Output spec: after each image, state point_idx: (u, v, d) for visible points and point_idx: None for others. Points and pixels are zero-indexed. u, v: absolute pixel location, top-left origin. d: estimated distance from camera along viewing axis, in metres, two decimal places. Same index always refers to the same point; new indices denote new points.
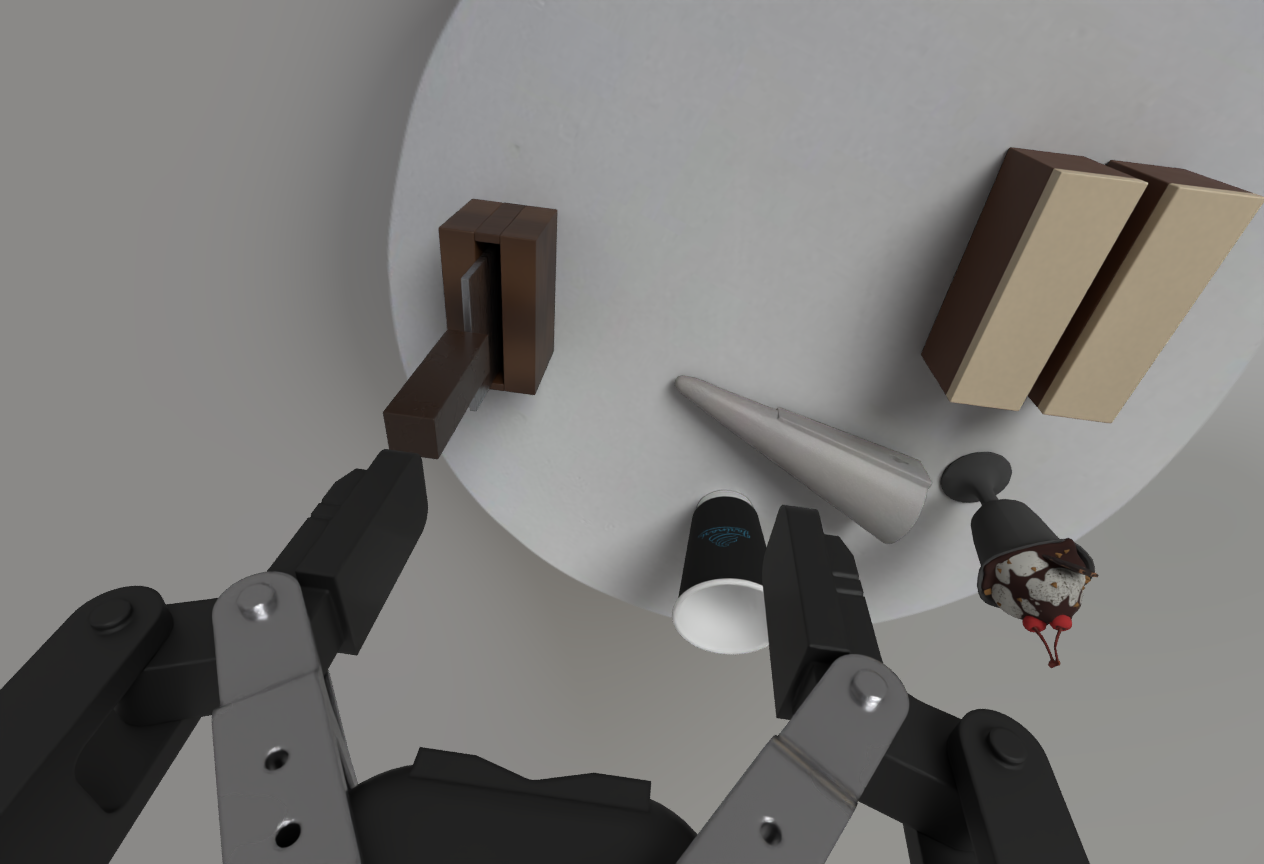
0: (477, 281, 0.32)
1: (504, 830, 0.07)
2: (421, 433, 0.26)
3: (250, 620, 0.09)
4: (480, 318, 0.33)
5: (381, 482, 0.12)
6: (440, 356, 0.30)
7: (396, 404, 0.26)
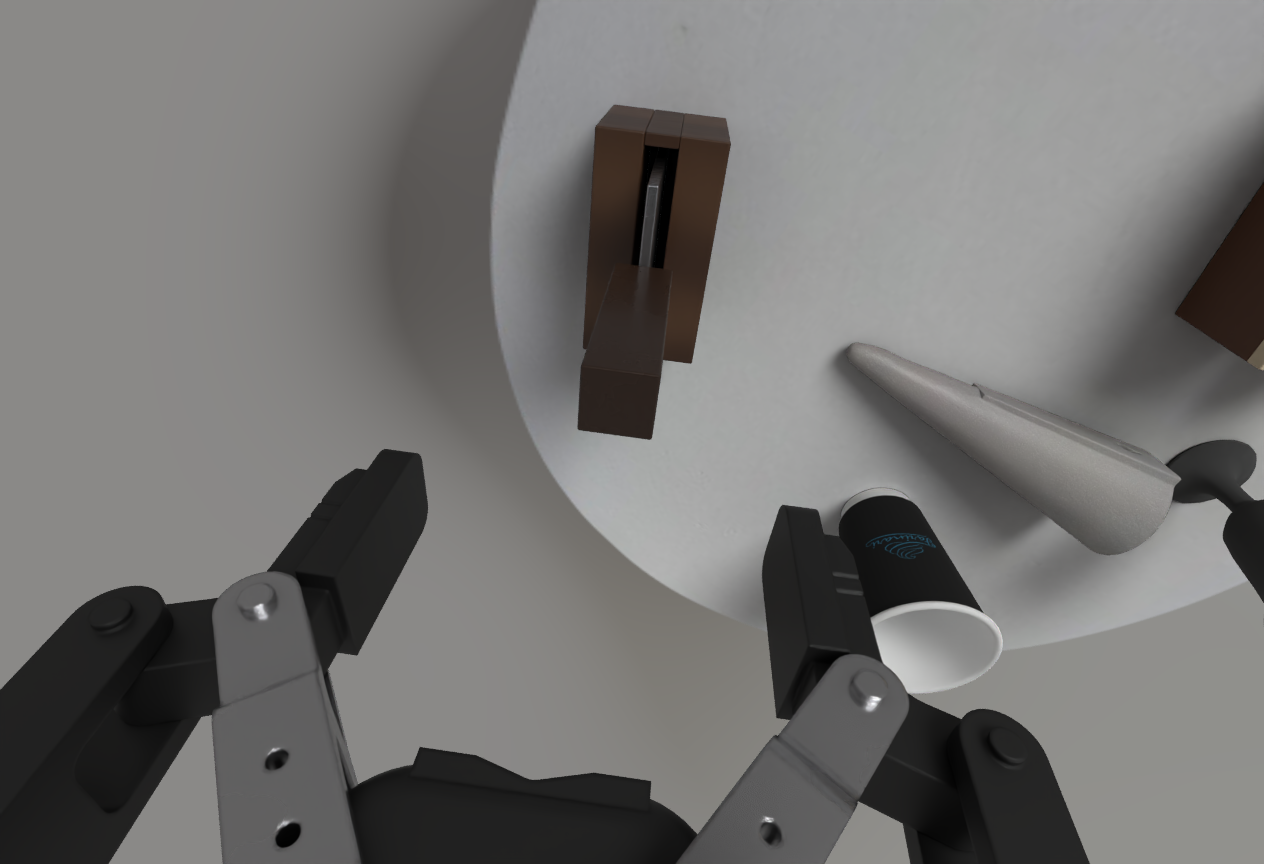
0: (659, 195, 0.23)
1: (504, 830, 0.07)
2: (635, 399, 0.17)
3: (250, 620, 0.09)
4: (652, 251, 0.24)
5: (381, 482, 0.12)
6: (625, 294, 0.21)
7: (596, 354, 0.17)
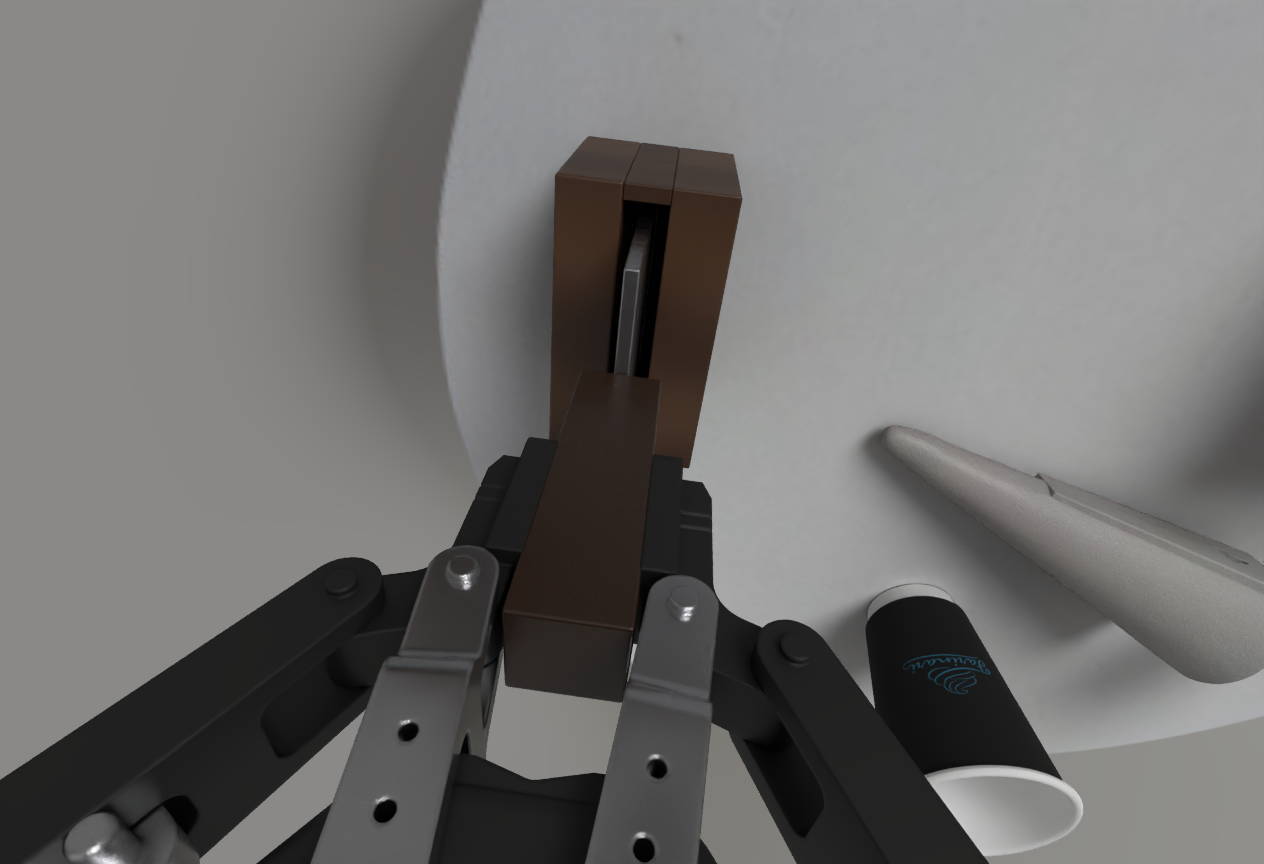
0: (642, 275, 0.16)
1: (504, 830, 0.07)
2: (594, 656, 0.10)
3: (462, 589, 0.10)
4: (634, 346, 0.17)
5: (537, 467, 0.13)
6: (590, 434, 0.14)
7: (530, 581, 0.10)
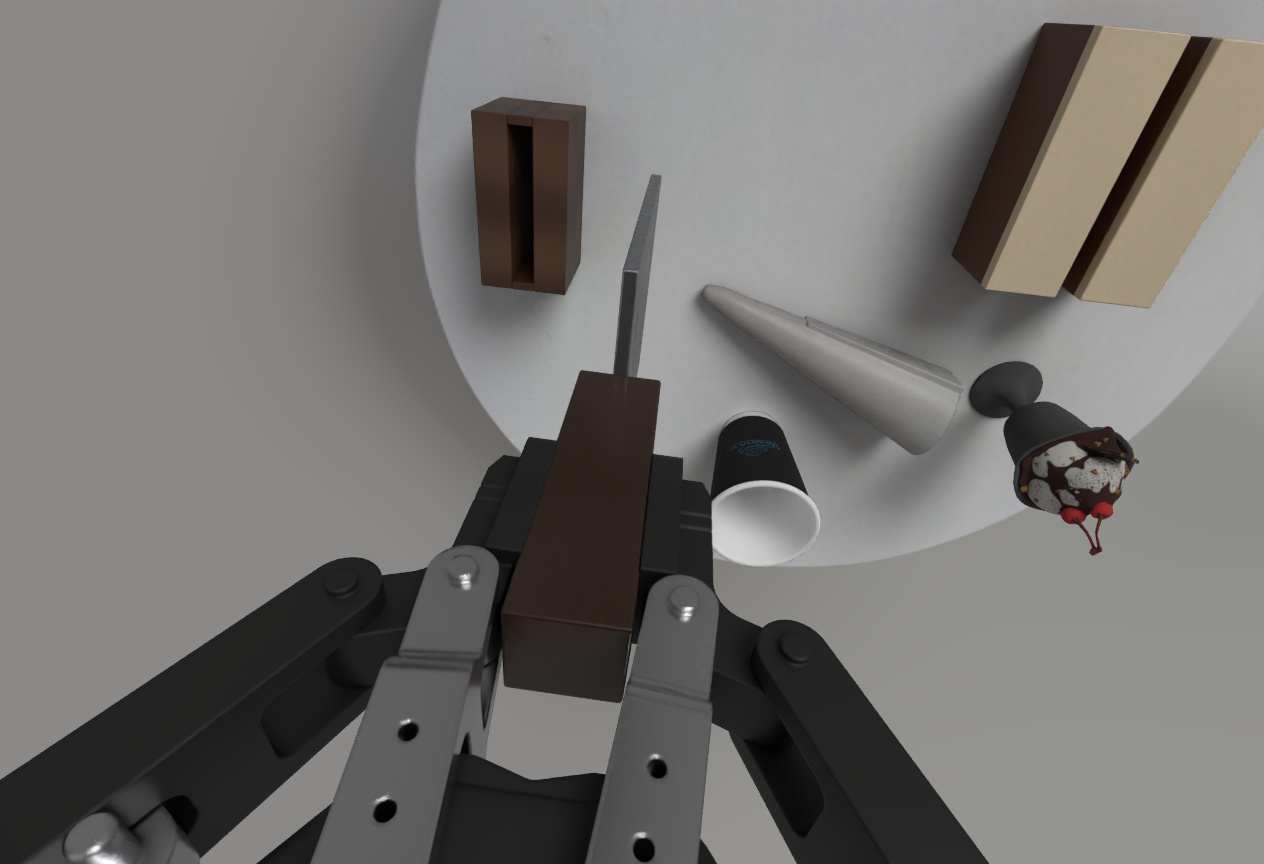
0: (641, 276, 0.16)
1: (504, 830, 0.07)
2: (593, 656, 0.10)
3: (462, 589, 0.10)
4: (633, 347, 0.18)
5: (537, 467, 0.13)
6: (588, 435, 0.14)
7: (529, 581, 0.10)
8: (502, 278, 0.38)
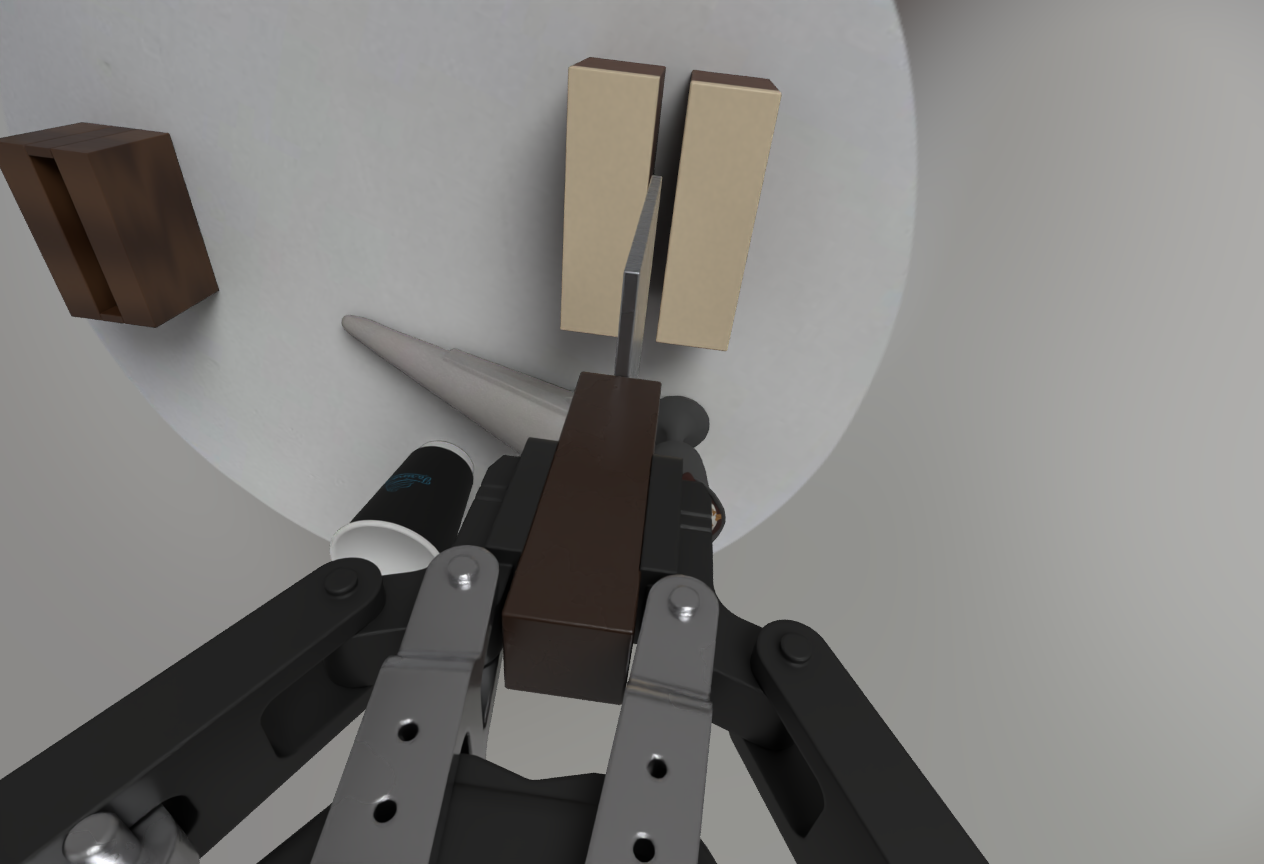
0: (641, 277, 0.16)
1: (504, 830, 0.07)
2: (594, 658, 0.10)
3: (462, 589, 0.10)
4: (634, 348, 0.18)
5: (537, 467, 0.13)
6: (589, 436, 0.14)
7: (530, 583, 0.10)
8: (88, 310, 0.37)
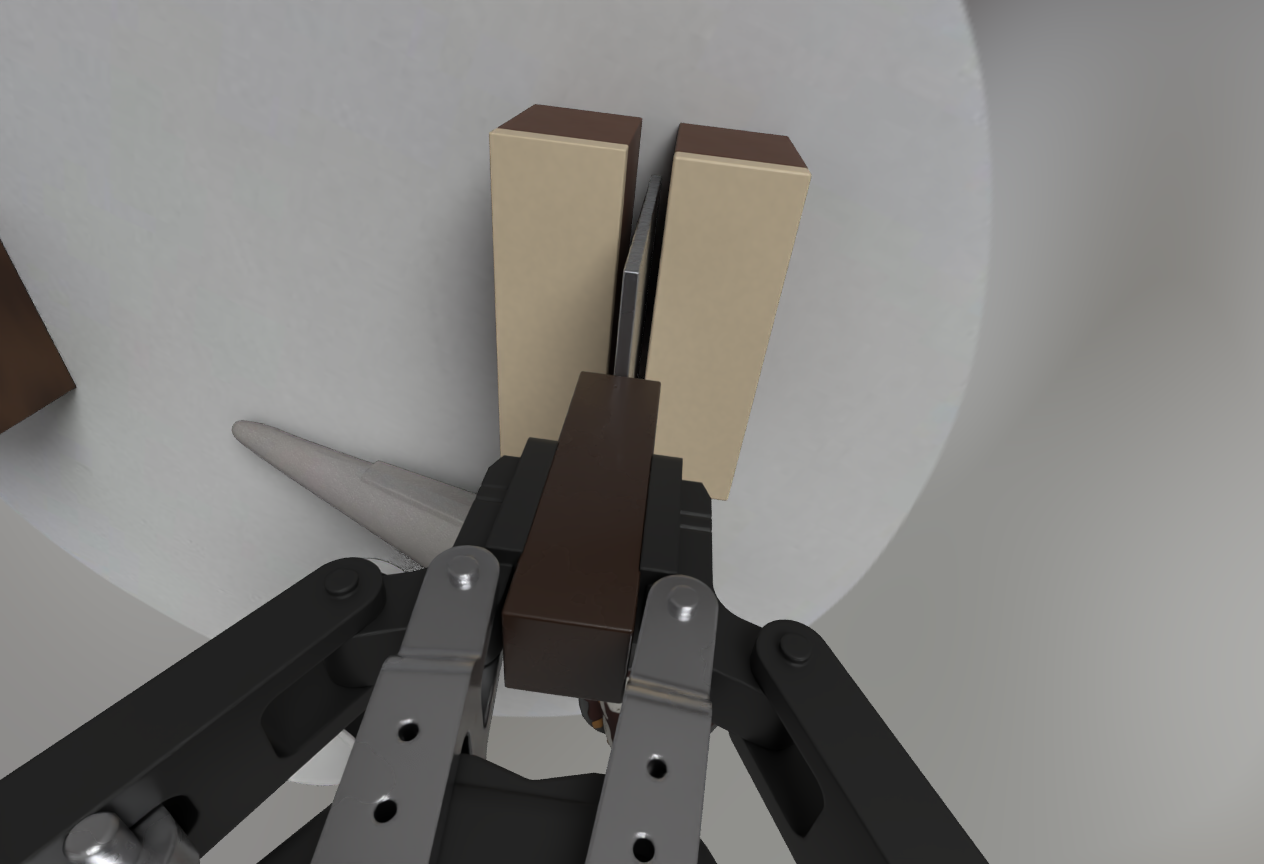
0: (641, 276, 0.16)
1: (504, 830, 0.07)
2: (593, 657, 0.10)
3: (462, 589, 0.10)
4: (634, 347, 0.18)
5: (537, 467, 0.13)
6: (589, 435, 0.14)
7: (530, 582, 0.10)
8: None
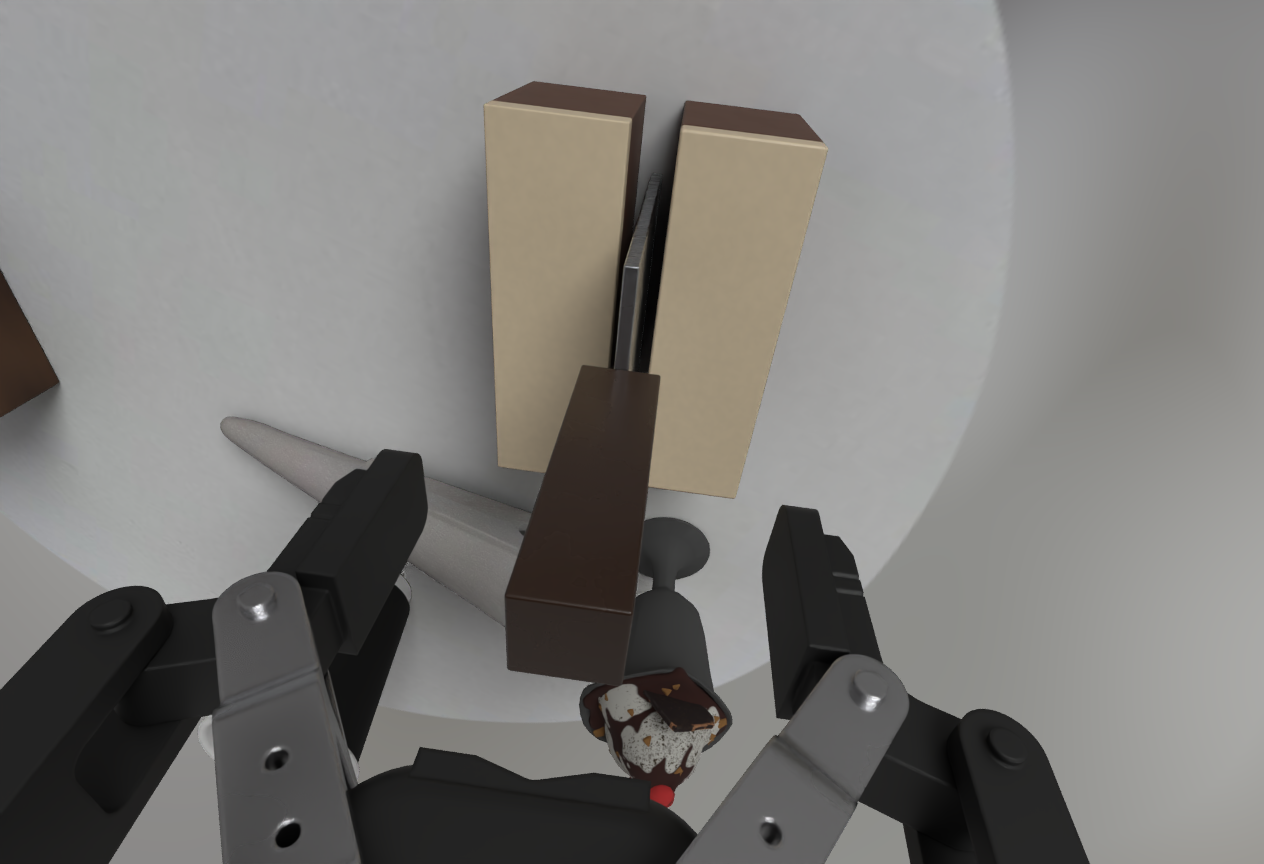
0: (641, 272, 0.16)
1: (504, 830, 0.07)
2: (594, 639, 0.11)
3: (250, 620, 0.09)
4: (634, 342, 0.18)
5: (381, 482, 0.12)
6: (590, 427, 0.14)
7: (533, 566, 0.11)
8: None
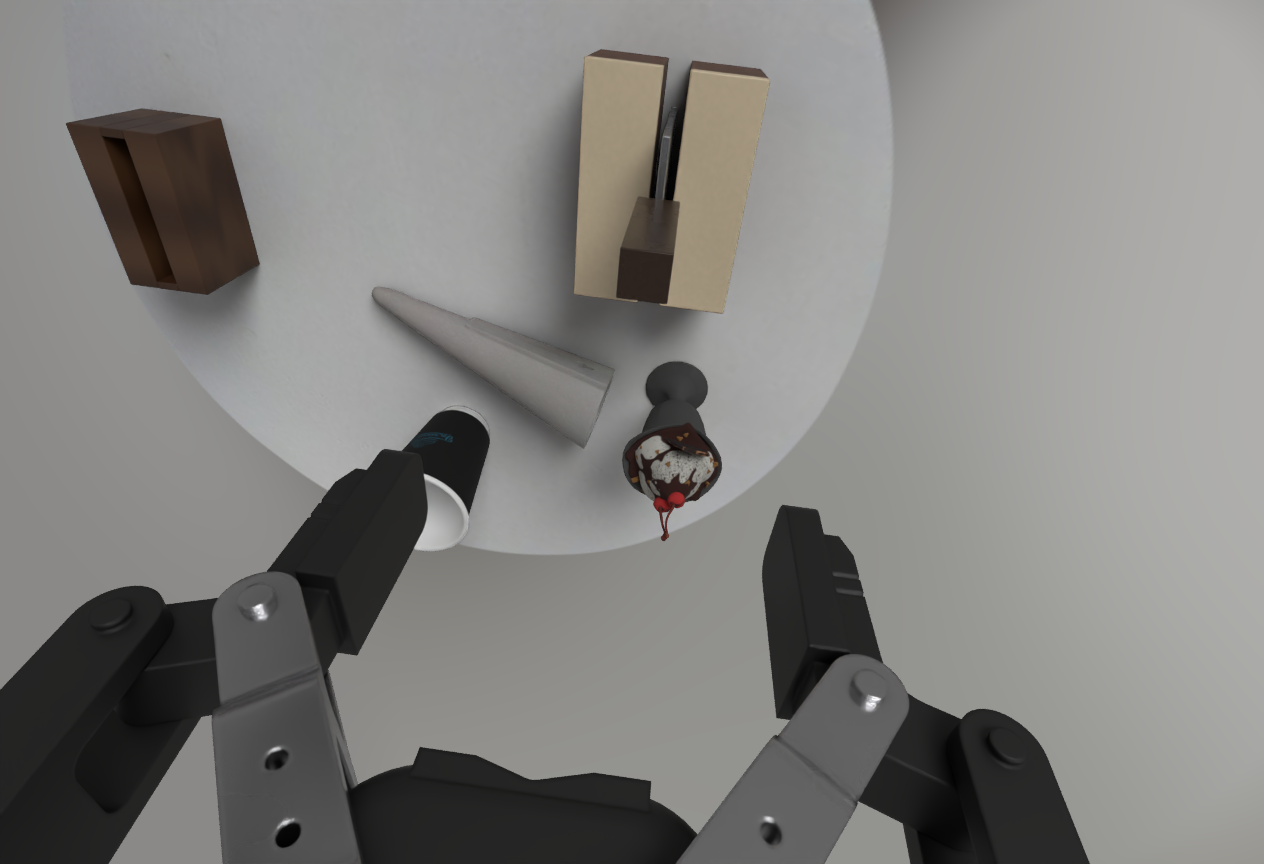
0: None
1: (504, 830, 0.07)
2: (656, 272, 0.25)
3: (250, 620, 0.09)
4: (664, 190, 0.32)
5: (381, 482, 0.12)
6: (646, 213, 0.29)
7: (630, 243, 0.25)
8: (147, 278, 0.41)
